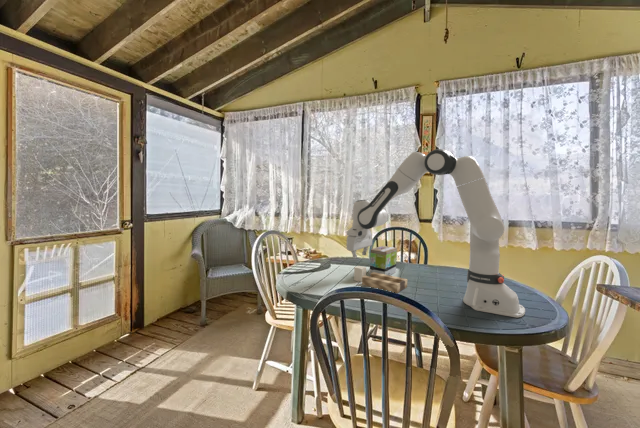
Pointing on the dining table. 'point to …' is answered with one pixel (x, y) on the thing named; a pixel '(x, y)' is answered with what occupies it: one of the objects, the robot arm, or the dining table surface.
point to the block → (359, 273)
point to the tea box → (383, 260)
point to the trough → (385, 282)
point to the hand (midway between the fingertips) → (359, 256)
